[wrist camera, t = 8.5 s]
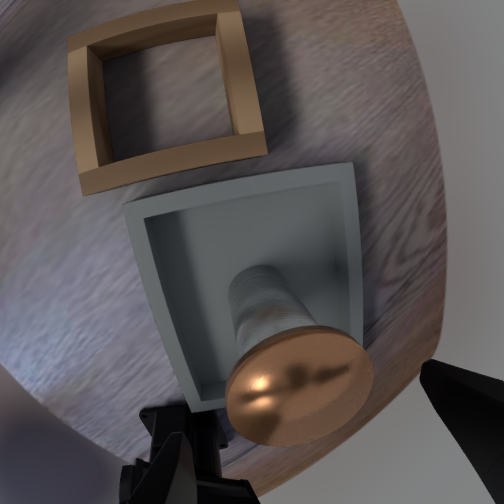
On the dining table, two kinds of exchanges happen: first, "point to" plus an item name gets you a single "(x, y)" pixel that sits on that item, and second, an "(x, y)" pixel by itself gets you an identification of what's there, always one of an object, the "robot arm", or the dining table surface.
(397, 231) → the dining table surface
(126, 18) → the square wooden frame
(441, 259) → the dining table surface
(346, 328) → the tray
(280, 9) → the dining table surface
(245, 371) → the glass jar
